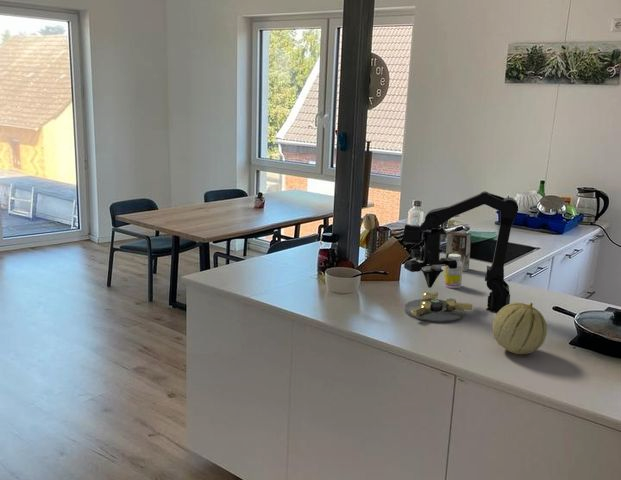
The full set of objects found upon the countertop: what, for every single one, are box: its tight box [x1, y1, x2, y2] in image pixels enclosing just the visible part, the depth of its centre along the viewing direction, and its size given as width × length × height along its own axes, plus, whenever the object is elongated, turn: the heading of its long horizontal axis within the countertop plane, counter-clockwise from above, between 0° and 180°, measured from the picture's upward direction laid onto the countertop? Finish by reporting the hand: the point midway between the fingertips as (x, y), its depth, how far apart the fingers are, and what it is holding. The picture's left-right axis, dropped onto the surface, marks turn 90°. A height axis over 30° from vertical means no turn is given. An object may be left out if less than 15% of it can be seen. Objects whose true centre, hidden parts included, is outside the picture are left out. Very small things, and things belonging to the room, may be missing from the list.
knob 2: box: [422, 291, 439, 301], centre depth 206 cm, size 9×3×3 cm, turn 141°
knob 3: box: [445, 298, 473, 311], centre depth 197 cm, size 9×3×3 cm, turn 77°
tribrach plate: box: [404, 298, 465, 324], centre depth 199 cm, size 20×20×4 cm
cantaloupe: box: [492, 302, 548, 355], centre depth 166 cm, size 15×15×15 cm
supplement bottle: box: [443, 254, 463, 289], centre depth 229 cm, size 7×7×13 cm
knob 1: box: [413, 301, 431, 316], centre depth 193 cm, size 9×3×3 cm, turn 137°
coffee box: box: [445, 230, 472, 272], centre depth 254 cm, size 9×6×16 cm
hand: (429, 287), depth 208 cm, fingers closed
